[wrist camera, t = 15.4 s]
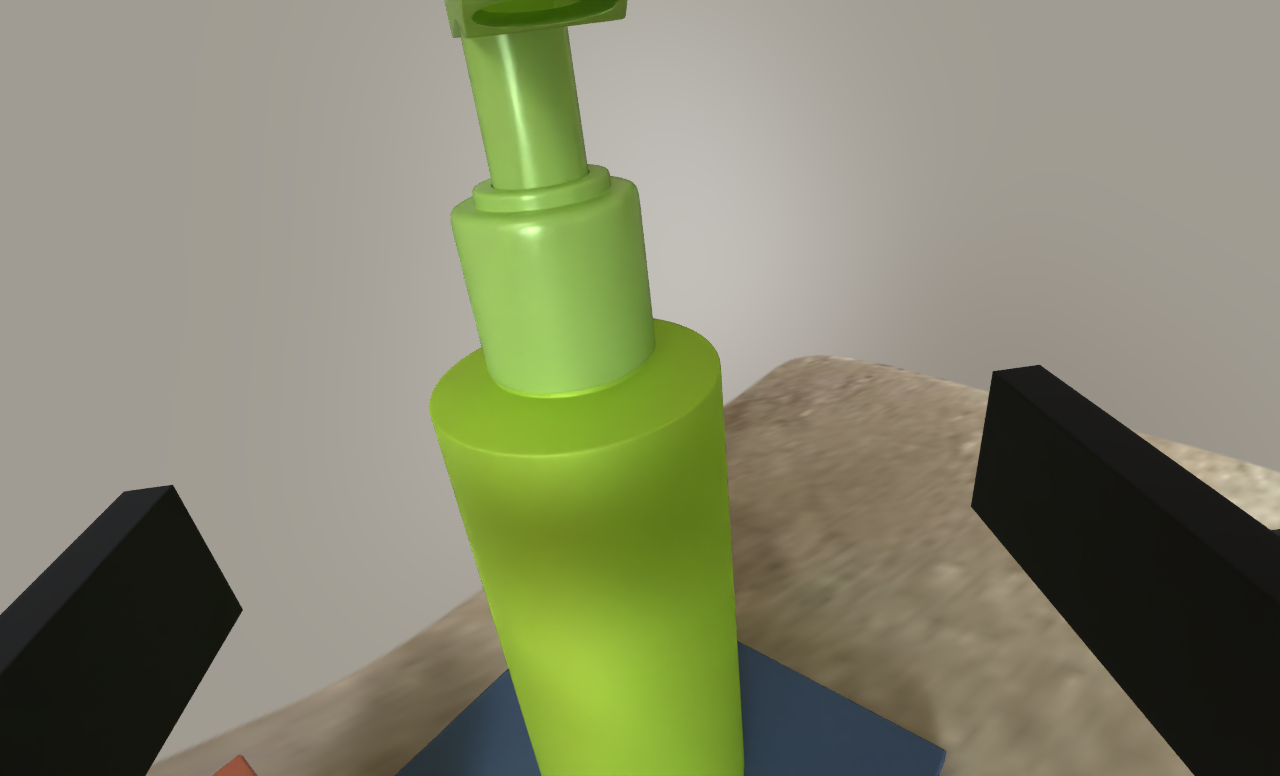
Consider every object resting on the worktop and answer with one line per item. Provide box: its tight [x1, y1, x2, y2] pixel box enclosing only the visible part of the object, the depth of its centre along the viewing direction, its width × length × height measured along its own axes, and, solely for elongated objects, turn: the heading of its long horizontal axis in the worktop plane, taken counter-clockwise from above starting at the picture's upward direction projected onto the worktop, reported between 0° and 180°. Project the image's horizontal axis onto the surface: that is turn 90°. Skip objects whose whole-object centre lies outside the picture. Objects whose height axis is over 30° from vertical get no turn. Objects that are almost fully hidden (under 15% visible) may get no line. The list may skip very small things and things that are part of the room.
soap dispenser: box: [430, 0, 744, 776], centre depth 14 cm, size 6×7×20 cm
